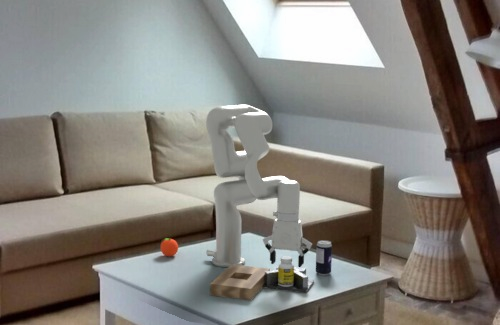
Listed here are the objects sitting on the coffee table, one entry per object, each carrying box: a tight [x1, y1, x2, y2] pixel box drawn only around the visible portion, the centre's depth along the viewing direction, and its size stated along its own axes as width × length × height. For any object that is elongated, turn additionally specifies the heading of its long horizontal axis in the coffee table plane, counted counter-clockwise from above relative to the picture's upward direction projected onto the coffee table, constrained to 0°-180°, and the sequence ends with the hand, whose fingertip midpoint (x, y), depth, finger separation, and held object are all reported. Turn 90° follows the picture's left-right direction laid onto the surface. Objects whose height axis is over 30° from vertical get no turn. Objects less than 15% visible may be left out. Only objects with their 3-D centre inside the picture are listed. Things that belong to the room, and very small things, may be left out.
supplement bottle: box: [277, 255, 295, 287], centre depth 258 cm, size 5×5×10 cm
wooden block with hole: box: [209, 264, 271, 301], centre depth 258 cm, size 14×22×4 cm, turn 162°
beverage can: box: [315, 239, 333, 276], centre depth 273 cm, size 6×6×12 cm
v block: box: [261, 266, 315, 294], centre depth 261 cm, size 16×11×5 cm
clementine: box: [160, 237, 179, 257], centre depth 292 cm, size 8×7×7 cm
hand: (286, 264), depth 257 cm, fingers open, 9 cm apart
